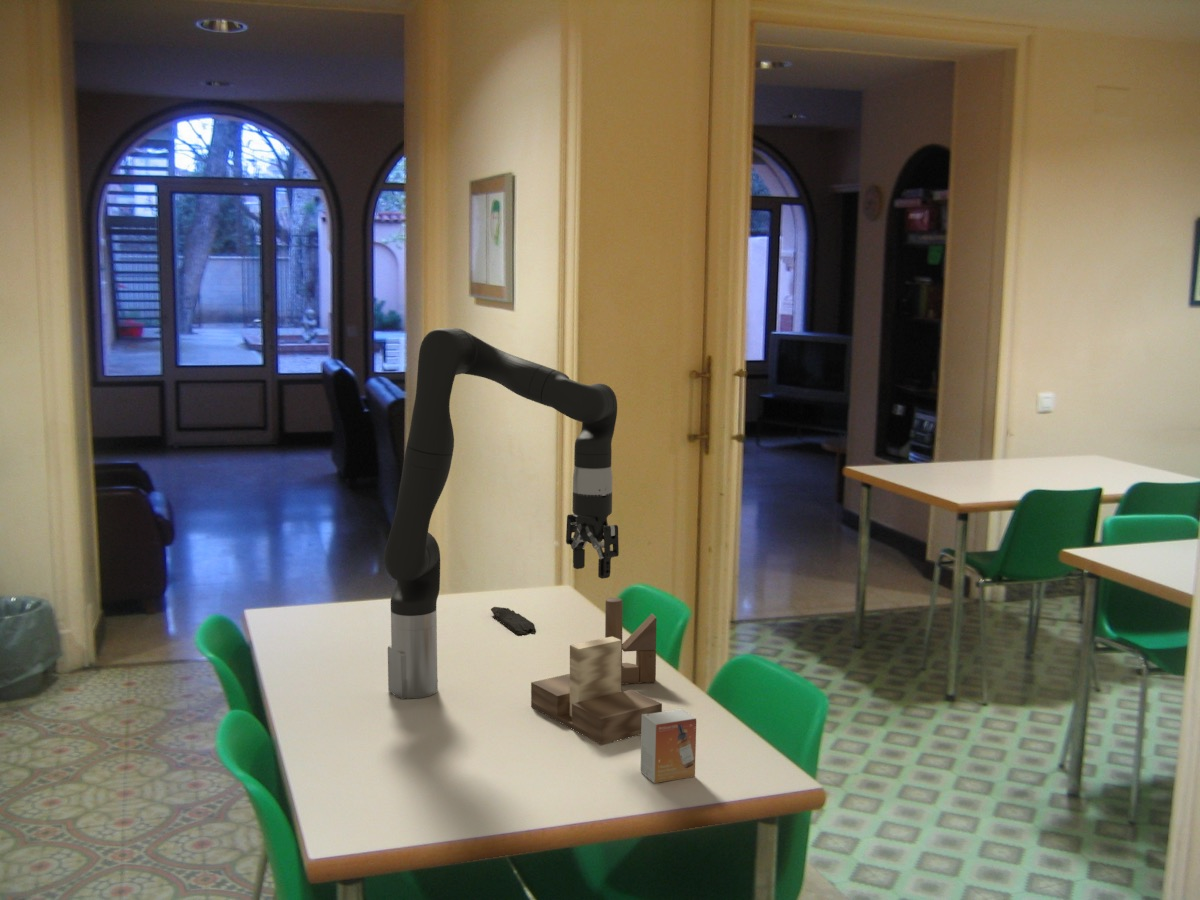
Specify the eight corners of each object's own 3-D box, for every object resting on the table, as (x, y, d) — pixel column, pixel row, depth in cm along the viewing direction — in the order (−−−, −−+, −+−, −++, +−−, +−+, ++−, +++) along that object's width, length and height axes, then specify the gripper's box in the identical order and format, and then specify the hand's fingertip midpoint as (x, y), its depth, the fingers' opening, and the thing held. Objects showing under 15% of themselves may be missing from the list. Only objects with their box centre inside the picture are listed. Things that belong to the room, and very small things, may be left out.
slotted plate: (601, 745, 216) (601, 718, 215) (531, 706, 235) (531, 682, 234) (661, 728, 224) (661, 703, 223) (589, 692, 243) (589, 669, 242)
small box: (654, 784, 199) (654, 724, 198) (639, 772, 204) (640, 713, 203) (696, 777, 202) (697, 718, 201) (681, 764, 207) (682, 707, 206)
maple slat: (578, 720, 225) (578, 649, 223) (569, 715, 228) (569, 645, 226) (620, 709, 231) (621, 640, 229) (611, 705, 233) (612, 636, 231)
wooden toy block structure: (656, 682, 250) (657, 599, 247) (606, 686, 247) (606, 602, 245) (651, 677, 253) (652, 595, 251) (602, 680, 251) (603, 597, 248)
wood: (546, 634, 285) (546, 622, 284) (517, 638, 282) (517, 625, 281) (513, 612, 305) (513, 600, 304) (486, 614, 301) (486, 603, 301)
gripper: (555, 485, 228) (554, 567, 230) (597, 497, 216) (596, 583, 219) (587, 482, 232) (586, 563, 235) (630, 493, 221) (629, 578, 223)
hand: (591, 573), depth 227 cm, fingers open, 8 cm apart
